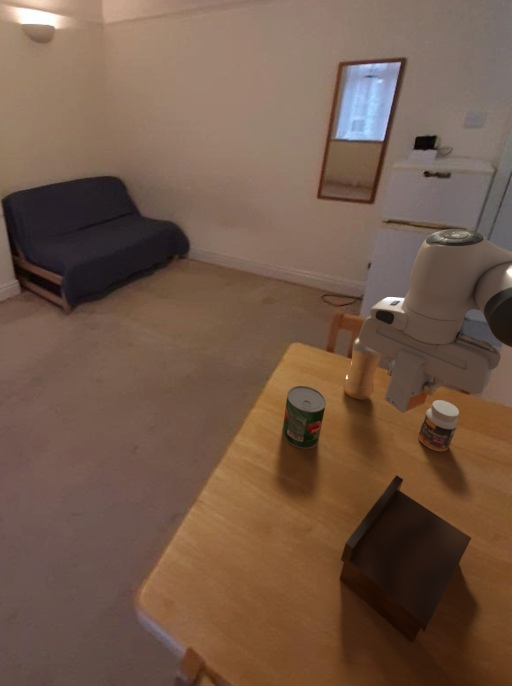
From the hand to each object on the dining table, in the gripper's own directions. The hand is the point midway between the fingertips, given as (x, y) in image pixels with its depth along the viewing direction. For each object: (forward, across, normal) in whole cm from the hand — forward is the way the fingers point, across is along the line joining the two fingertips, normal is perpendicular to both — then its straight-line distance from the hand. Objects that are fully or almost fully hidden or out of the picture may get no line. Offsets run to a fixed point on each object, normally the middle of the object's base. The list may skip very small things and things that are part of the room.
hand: (410, 383), depth 75 cm
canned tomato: (+21, +16, +7) cm, 27 cm away
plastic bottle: (+21, +14, -15) cm, 29 cm away
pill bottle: (+21, -4, -13) cm, 25 cm away
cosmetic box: (+5, 0, 0) cm, 5 cm away
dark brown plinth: (+21, -11, +19) cm, 30 cm away
